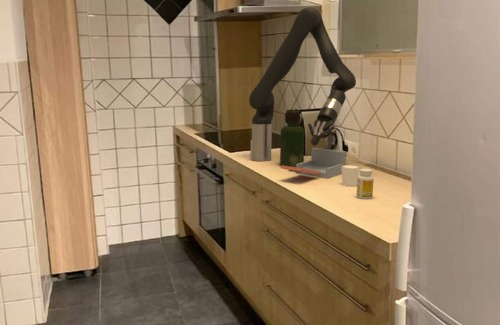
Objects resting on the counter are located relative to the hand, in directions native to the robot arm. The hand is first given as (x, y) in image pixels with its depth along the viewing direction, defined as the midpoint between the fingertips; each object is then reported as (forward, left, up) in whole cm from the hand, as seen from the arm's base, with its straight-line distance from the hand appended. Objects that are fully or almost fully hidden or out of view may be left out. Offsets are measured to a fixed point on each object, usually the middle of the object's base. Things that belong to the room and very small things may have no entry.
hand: (313, 144), depth 207 cm
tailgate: (-1, -3, -11) cm, 11 cm away
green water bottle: (-13, +16, -13) cm, 24 cm away
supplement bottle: (+23, -29, -13) cm, 39 cm away
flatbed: (+2, +6, -13) cm, 14 cm away
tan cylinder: (+16, -12, -13) cm, 24 cm away
